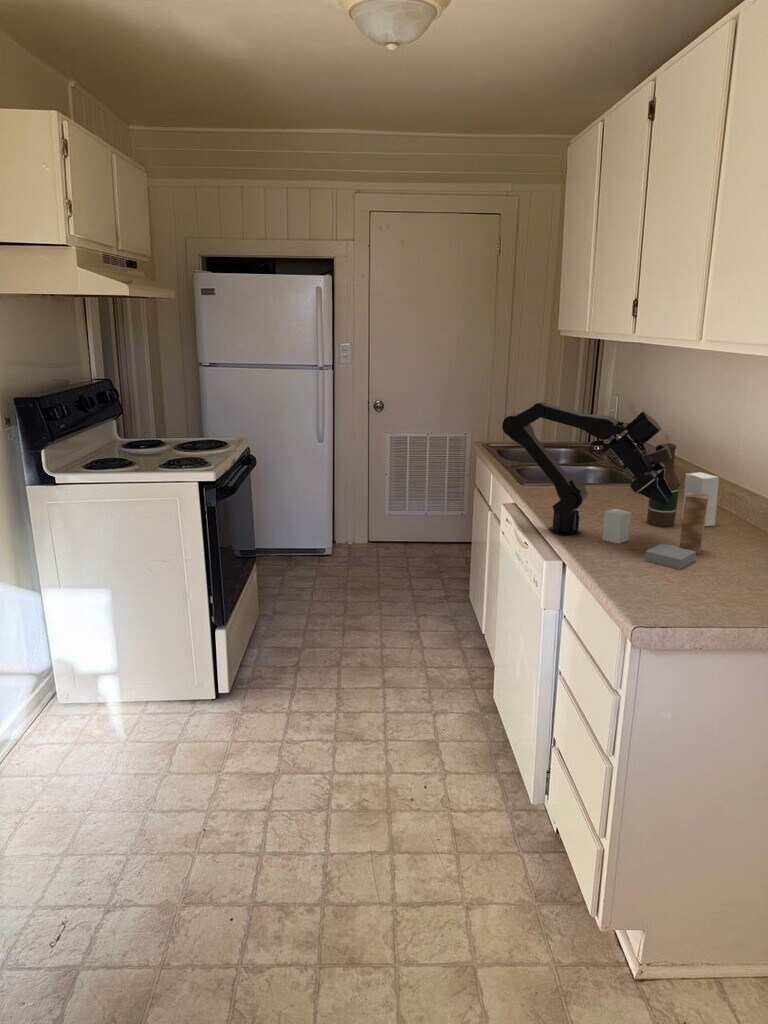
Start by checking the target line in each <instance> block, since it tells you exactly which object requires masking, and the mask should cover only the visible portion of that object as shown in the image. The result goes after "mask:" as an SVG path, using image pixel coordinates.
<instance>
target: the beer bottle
mask: <svg viewBox="0 0 768 1024" xmlns="http://www.w3.org/2000/svg"><path fill="white" fill-rule="evenodd" d="M662 444H663V445H664V446H665V447H667V446H668V447H669V449H670V450H671V451H670V452H671V455H672V458H671V460H669V461H666V462H662V463H663V464H664V465H665V467H664V468H663V469H666V470H665V475H664V477H665V479H666V481H667V483H668V485H669V487H670V489H671V491H672V493H673V496H672V497H671V498H670V497H668V496H666V495H664V496H665V498H666V499H667V501H668V504H667V505H663V504H661V503H659V502H657V501H655V500H653V499H651V498H648V506H647V513H646V515H647V516H646V522H647V523H648V524H649V525H650V526H654V527H658V528H665V527H666V528H670V527H673V526H674V524H675V522H676V514H677V507H678V497H679V491H680V482H679V478H678V475H677V474H676V472H675V456H676V455H675V453H676V452H675V451H676V449H677V445H676V444H674V443H669V442H668V443H662ZM663 469H660V471H662V470H663Z"/></svg>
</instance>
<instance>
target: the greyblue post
mask: <svg viewBox="0 0 768 1024" xmlns="http://www.w3.org/2000/svg"><path fill="white" fill-rule="evenodd" d="M603 517H604V520H603V529H602V538H601V540H602V539H603V540H602V541H605V540H606V541H605V542H609V541H610V543H613V542H614V543H613V544H616V543H618V544H617V545H620V544H622V542H623V543H625V541H626V542H628V541H629V539H630V530H631V518H632V512H631V511H626V510H621V509H618V508H613V509H610V510H606V511H604V516H603ZM619 543H620V544H619Z"/></svg>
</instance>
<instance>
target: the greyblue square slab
mask: <svg viewBox="0 0 768 1024" xmlns="http://www.w3.org/2000/svg"><path fill="white" fill-rule="evenodd" d="M696 557H697V554H696V551H692V550H687V549H683V548H679V546H674V545H671V544H670V545H669V544H664V543H660V544H658V545H655V546H653V547H651V548H649V549H647V550H645V555H644V561H645V560H646V561H645V562H647V561H650V562H649V563H651V562H654V563H653V564H655V563H657V564H656V565H659V564H660V565H659V566H664V567H667V566H668V567H667V568H671V569H676V570H682V569H685V567H688V566H689V565H691V564H693V563H695V562H696Z"/></svg>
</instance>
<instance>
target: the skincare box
mask: <svg viewBox="0 0 768 1024" xmlns="http://www.w3.org/2000/svg"><path fill="white" fill-rule="evenodd" d="M719 482H720V476H716V475H713V474H710V473H706V472H702V471H701V472H689V473H688V472H687V473H685V480H684V489H683V490H684V494H683V505H682V514H681V515H682V516H681V517H682V518H681V521H683V513H684V505H685V497H686V495H687V493H688V492H690V493H699V494H708V495H709V496H708V504H707V511H706V519H705V526H704V527H715V526H716V517H717V507H718V506H717V505H718V504H717V503H718V494H719V493H718V492H719Z"/></svg>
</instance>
